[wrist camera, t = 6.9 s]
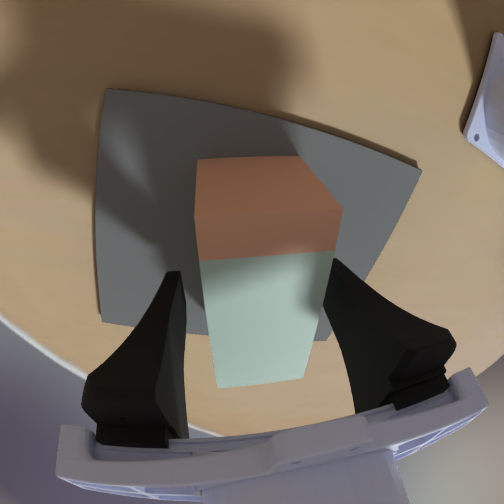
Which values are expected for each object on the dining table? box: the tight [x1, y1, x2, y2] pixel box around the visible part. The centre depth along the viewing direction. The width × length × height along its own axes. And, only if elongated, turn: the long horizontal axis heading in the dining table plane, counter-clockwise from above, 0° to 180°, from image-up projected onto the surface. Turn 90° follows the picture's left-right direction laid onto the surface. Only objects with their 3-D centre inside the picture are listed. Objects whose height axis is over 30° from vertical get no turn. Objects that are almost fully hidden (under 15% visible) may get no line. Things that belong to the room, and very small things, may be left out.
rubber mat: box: [95, 89, 422, 341], centre depth 16 cm, size 16×14×1 cm
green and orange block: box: [194, 156, 343, 388], centre depth 14 cm, size 10×4×5 cm, turn 179°
